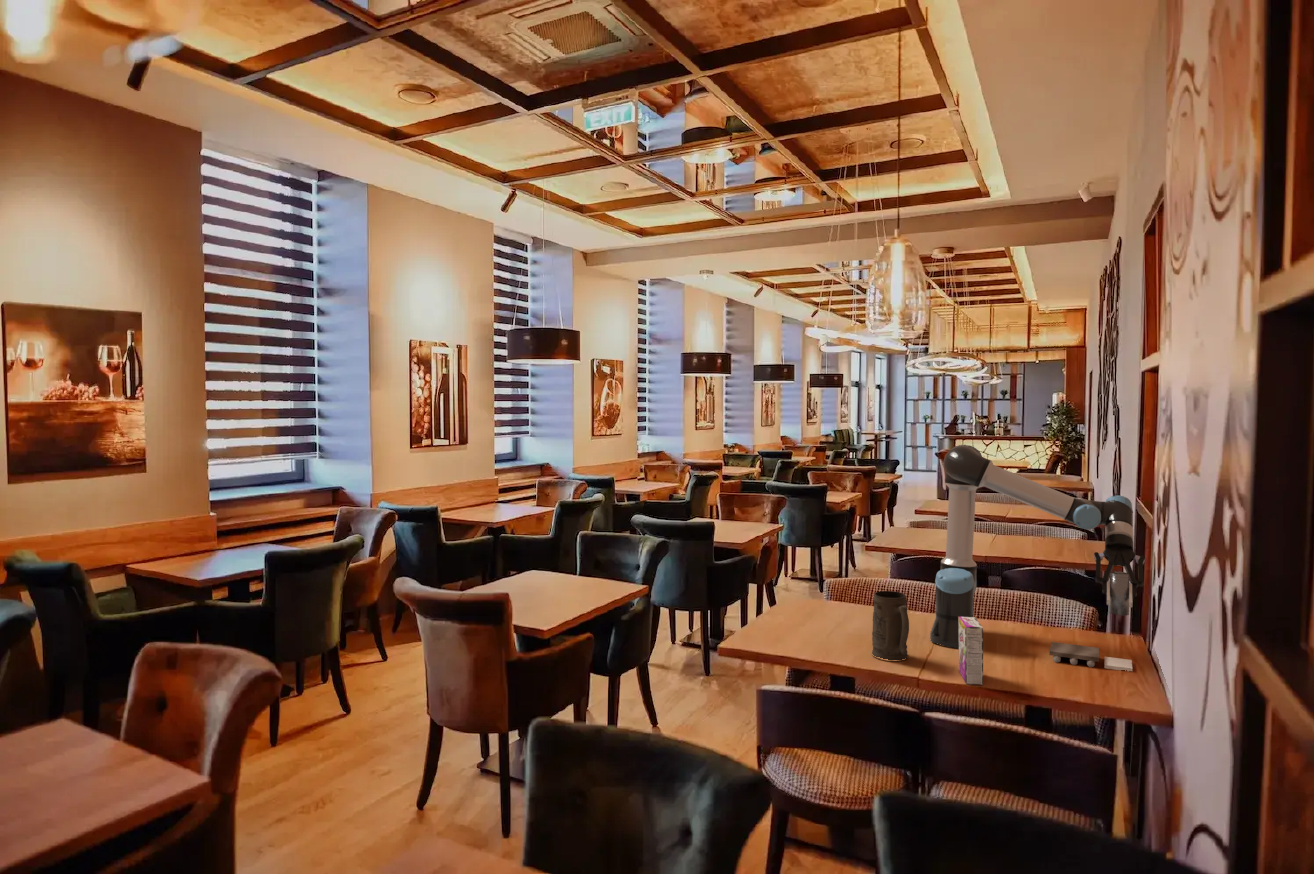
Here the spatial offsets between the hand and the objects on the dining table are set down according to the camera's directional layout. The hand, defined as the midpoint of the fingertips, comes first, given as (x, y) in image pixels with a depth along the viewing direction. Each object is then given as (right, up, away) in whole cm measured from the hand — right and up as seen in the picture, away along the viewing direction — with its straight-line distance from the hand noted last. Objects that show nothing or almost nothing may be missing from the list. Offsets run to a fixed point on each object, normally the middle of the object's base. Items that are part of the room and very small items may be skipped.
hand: (1119, 603), depth 226 cm
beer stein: (-62, -20, +12) cm, 66 cm away
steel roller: (+2, -4, +3) cm, 5 cm away
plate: (+2, -19, +4) cm, 20 cm away
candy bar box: (-46, -20, -6) cm, 51 cm away
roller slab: (-8, -19, +10) cm, 23 cm away
